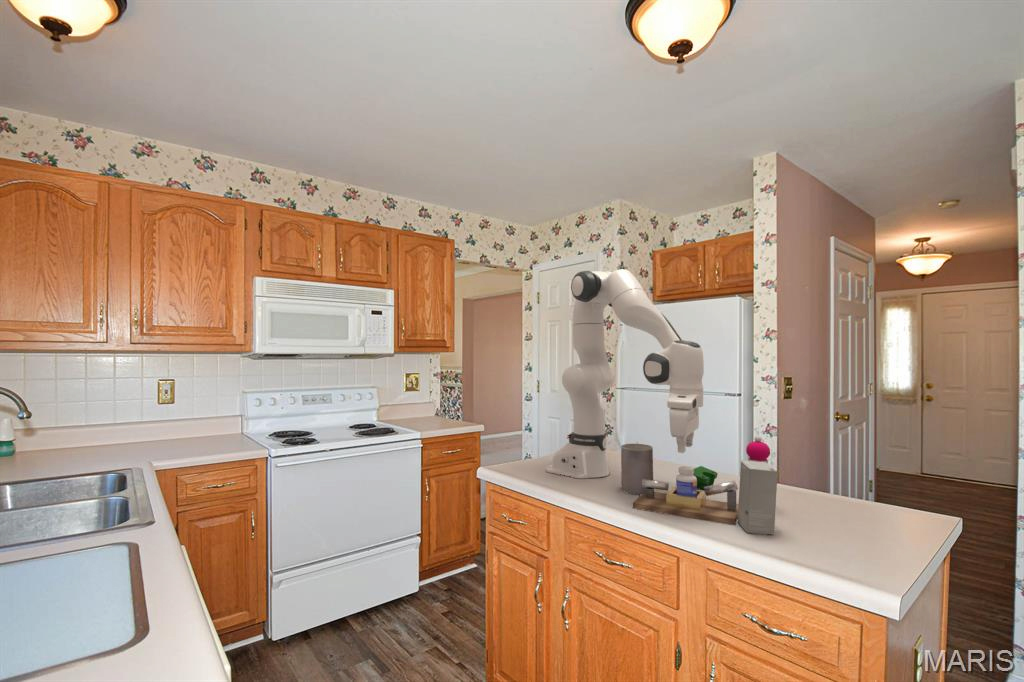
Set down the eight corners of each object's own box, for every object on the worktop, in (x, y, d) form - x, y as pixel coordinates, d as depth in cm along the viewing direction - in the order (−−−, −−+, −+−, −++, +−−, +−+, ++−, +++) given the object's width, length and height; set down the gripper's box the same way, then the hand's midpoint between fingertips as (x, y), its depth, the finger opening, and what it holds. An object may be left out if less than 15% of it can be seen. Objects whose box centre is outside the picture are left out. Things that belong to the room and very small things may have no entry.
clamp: (701, 505, 154) (703, 482, 151) (682, 497, 158) (684, 474, 155) (717, 484, 162) (720, 462, 158) (699, 477, 166) (701, 455, 162)
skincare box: (736, 522, 127) (736, 459, 127) (767, 523, 126) (766, 460, 126) (746, 534, 118) (746, 467, 119) (779, 536, 117) (778, 468, 118)
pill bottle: (697, 507, 134) (696, 470, 134) (675, 505, 136) (675, 469, 136) (697, 501, 139) (696, 466, 139) (676, 499, 141) (676, 464, 141)
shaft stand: (632, 508, 138) (632, 474, 138) (646, 495, 150) (646, 464, 150) (734, 525, 125) (734, 487, 125) (741, 509, 137) (740, 475, 137)
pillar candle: (636, 484, 162) (635, 438, 162) (660, 491, 154) (659, 442, 154) (614, 489, 157) (614, 441, 157) (638, 497, 148) (637, 446, 149)
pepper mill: (746, 502, 143) (746, 432, 143) (775, 507, 139) (774, 435, 139) (741, 509, 137) (741, 436, 138) (771, 514, 133) (770, 439, 133)
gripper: (682, 395, 148) (681, 442, 148) (665, 401, 131) (664, 454, 131) (704, 397, 145) (703, 444, 145) (690, 403, 128) (689, 457, 127)
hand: (685, 449), depth 138 cm, fingers open, 8 cm apart
